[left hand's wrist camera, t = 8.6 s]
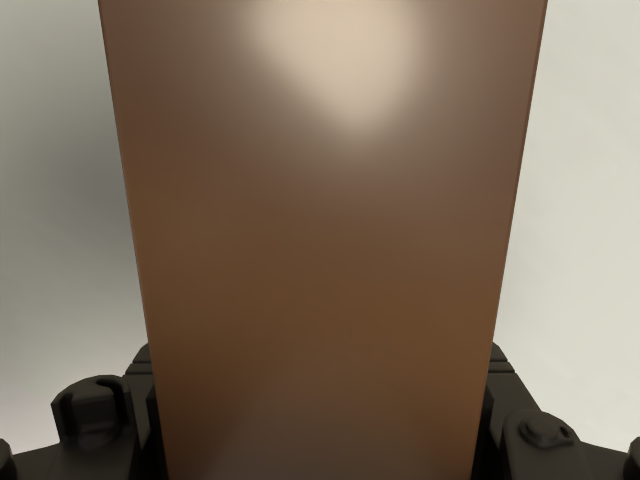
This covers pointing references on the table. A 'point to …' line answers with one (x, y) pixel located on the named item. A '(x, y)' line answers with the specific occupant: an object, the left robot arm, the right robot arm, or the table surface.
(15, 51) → the table surface
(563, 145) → the table surface
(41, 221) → the table surface
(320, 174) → the post
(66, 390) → the left robot arm
